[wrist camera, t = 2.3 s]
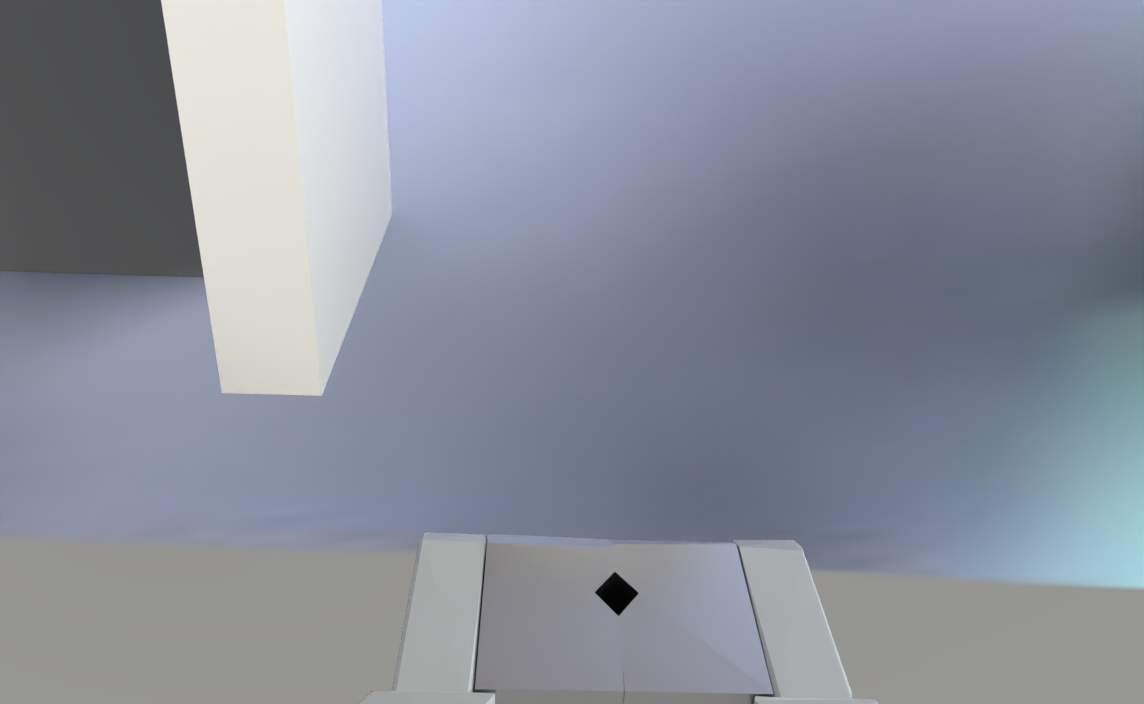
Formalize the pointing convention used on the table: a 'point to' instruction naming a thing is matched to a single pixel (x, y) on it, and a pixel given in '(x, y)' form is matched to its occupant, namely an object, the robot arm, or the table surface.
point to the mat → (91, 142)
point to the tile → (282, 176)
